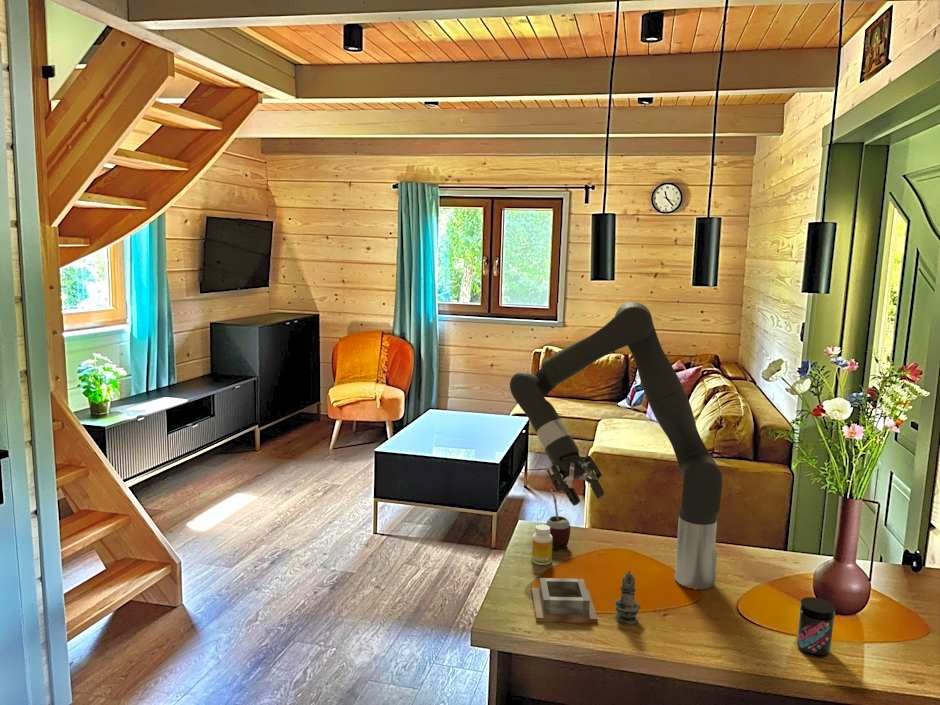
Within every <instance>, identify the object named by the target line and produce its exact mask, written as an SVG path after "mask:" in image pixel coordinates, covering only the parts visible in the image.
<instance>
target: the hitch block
mask: <svg viewBox="0 0 940 705" xmlns="http://www.w3.org/2000/svg"><path fill="white" fill-rule="evenodd" d="M531 595H532V596H531V597H532V604H533V609H534V610H533V611H534V616H535V622H536V623H537V622H538V623H579V624H580V623H583V624H598V623H599V622H598V621H599V618H598V615H597V611H596V609H595V605H594V603H593V600H592V597H591V593H590V590H589V588H587V586H586V584H585V580H584V578H560V577H559V578H557V577H555V578H549V577H540V578H539V587H531Z"/></svg>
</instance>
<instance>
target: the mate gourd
mask: <svg viewBox="0 0 940 705" xmlns="http://www.w3.org/2000/svg"><path fill="white" fill-rule="evenodd" d="M549 490H550V492H551V495H552V498H553V503H554V510H555V515H553V516H551V517H549V518H548V519H547V521H546V523H545V525H548V526H549V527H550V534H551V535H552V538H553V540H552V551H556V550H557V549H558V548H560V549H564V550H568V549H569V548H568V547H569V546H568V544H569V542H570V535H571V523H570V521H569V520H568V519H567V518H566V517H564V516H561V515H559V512H558V504H557V498H556V495H555V493H554V492H553V489H552V488H550V489H549Z"/></svg>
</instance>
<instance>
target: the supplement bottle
mask: <svg viewBox="0 0 940 705" xmlns="http://www.w3.org/2000/svg"><path fill="white" fill-rule="evenodd" d="M534 531H535V532H534V533H533V535H532V541H531V542H532V543H531V562H533V563H534V564H535V565H540V566H545V565H550V564H551V563H552V559H553V550H552V548H553V546H552V540H553V538H552V535H551V534H550V527H549V526H548V525H546V524H543V523H541V524H536V525H535V530H534Z"/></svg>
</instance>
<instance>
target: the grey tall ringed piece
mask: <svg viewBox="0 0 940 705" xmlns="http://www.w3.org/2000/svg"><path fill="white" fill-rule="evenodd" d="M621 582H622V583H621V587H620V589H619V590H620V592H621V595H620V598H618V599H616V600H615V601H614V606H615V611H616V612H617V613H616V614H615V616H614V619H615V621H616V622H617V623H619V624H621V625H625V626H634V625H637V624H638V622H639V618H638V617H637V615H638V613H639V610H641V605H640V603H639V602H638V601H636V600H635V593H636V592H637V589H636V587H635V585H636V577H635V575H634V574H632V572H631V570H627V573H624V574H623V576H622V581H621Z"/></svg>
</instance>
